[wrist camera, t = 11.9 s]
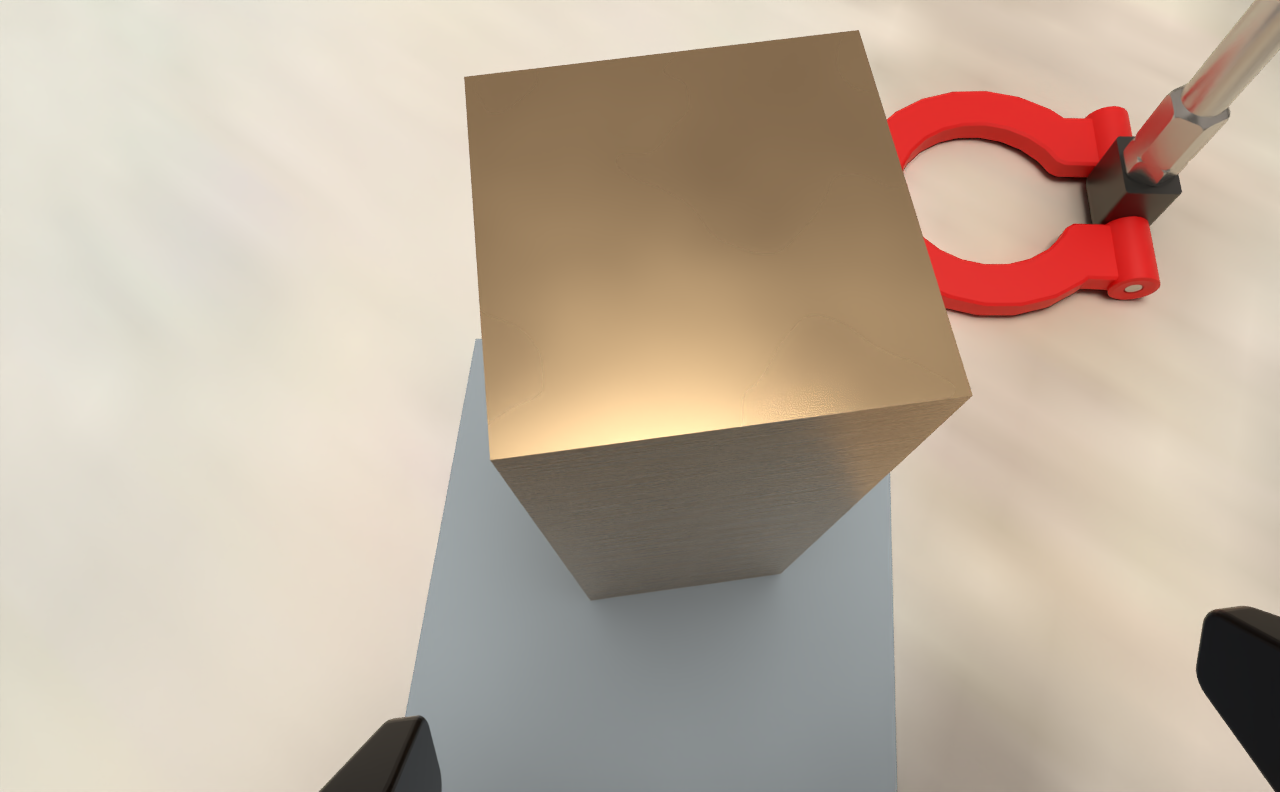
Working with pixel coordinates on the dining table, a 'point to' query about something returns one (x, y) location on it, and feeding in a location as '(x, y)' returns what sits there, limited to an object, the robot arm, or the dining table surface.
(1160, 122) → the tow hook
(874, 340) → the gold metal block
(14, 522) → the dining table surface
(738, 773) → the mat
